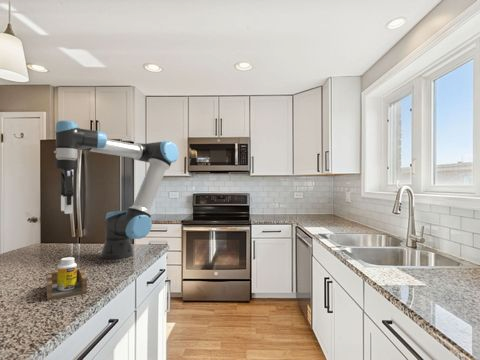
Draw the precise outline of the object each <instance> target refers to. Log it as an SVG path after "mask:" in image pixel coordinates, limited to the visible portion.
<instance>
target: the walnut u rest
mask: <svg viewBox="0 0 480 360" xmlns="http://www.w3.org/2000/svg"><path fill="white" fill-rule="evenodd" d="M46 275H47V276H46V299H47V301H53V300H58V299H63V298H69V297H74V296H78V295H86V294H87V293H88V290H87V289H88V278H87V276H86V273H85V271H84V269H83V268H77V276H76V287H75V288H74V289H72V290H68V291H59V290H57V275H58V271H55V272H48V273H46Z"/></svg>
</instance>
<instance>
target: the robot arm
mask: <svg viewBox="0 0 480 360" xmlns="http://www.w3.org/2000/svg"><path fill="white" fill-rule="evenodd" d="M78 125H79V124H78V123H77V122H76V121H72V120H59V121H57V122H56V124H55V131H54V133H55V150H54V151H53V154H55V158H56V160H55V169H56V170H62V171H61V173H60V211H61V212H64V214H66V215H67V214H69V215H70V214H73V213H74V195H75V191H74V181H73V180H74V172H73V170H74V171H75V170H77V169H78V154H79V153H78V152H79V151H83V152H84V151H85V152H91V153H98V154H99V153H100V154H105V155H113V156H118V157H126V158H132V159H133V160H134V161H140V162H145V163H149V166H148V168H147V170H146V173H145V175H144V178H143V180H142V183H141V185H140V187H139V190H138V193H137V195H136V197H135V199H134V201H133V203H132V204H133V205H132V206H129V207H128V208H127V210H118V211H117V210H115V211H109V212H107V213H106V214H105V215H106V216H105V240H104V241H105V242H104V245H103V247H102V251H101V256H100V257H101V259H106V260H116V259H117V260H119V259H125V258H129V257H132V256H133V255H134V249H133V245H132V242H131V239H132V240H141V239H143V238H145V237H147V236H148V235H149V234H150V232H151V231H152V226H153V223H152V219H151V217H152V213H151V212H150V211H151V209H152V206H153V203H154V201H155V199H156V196H157V194H158V190H159V188H160V186H161V183H162V181H163V178H164V175H165V172H166V171H167V170H170V169H171V168H170V167H171V166H172V165H171V164H172V163H175V162H176V161H177V160H178V159H179V154H180V153H179V149H178V146H177V145H176V144H175V143H174V142H173V141H170V140H163V141H156V142H155V141H154V142H148V143H147V142H146V143H140V142H136V143H131V142H125V141H120V140H116V139H109V138H108V136H107V134H106V133H105V132H104V131H99V130H94V129H93V130H92V129H87V128H86V129H85V128H81V127H79V126H78Z"/></svg>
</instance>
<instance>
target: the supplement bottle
mask: <svg viewBox="0 0 480 360" xmlns="http://www.w3.org/2000/svg"><path fill="white" fill-rule="evenodd" d="M77 266H78V265H77V263H76V262H75V257H73V256H68V257H63V258H61V259H60V264H58V265H57V272H58V275H57V290H59V291H68V290H72V289H74V288H75V287H76V276H77V269H78V267H77Z"/></svg>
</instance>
